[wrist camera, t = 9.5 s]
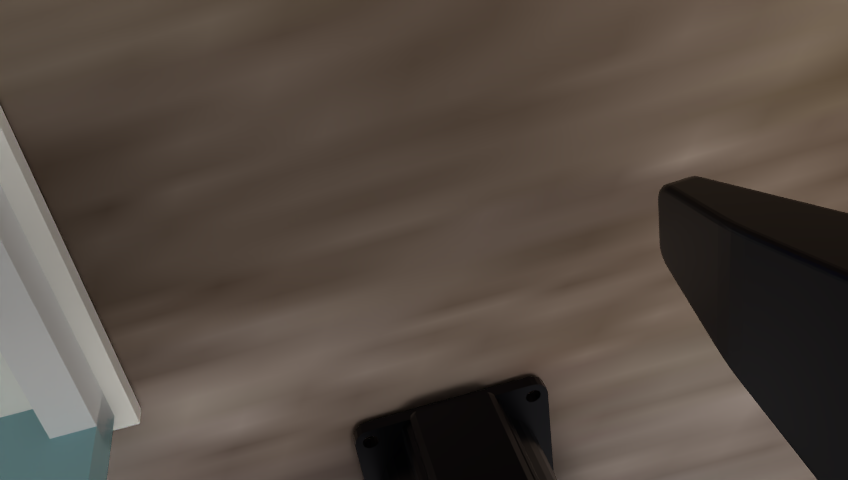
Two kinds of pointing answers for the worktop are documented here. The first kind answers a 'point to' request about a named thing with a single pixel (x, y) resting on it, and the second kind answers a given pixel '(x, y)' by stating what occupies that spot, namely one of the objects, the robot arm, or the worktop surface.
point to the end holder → (50, 345)
